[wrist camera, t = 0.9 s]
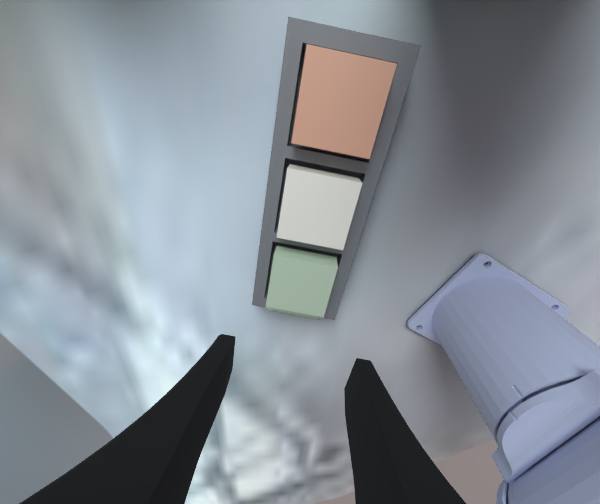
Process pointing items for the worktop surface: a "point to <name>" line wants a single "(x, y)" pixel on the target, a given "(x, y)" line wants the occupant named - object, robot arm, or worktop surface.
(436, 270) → the worktop surface
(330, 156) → the key panel
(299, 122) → the terracotta key
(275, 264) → the sage key
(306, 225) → the cream key
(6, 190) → the worktop surface
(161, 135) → the worktop surface
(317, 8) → the worktop surface
